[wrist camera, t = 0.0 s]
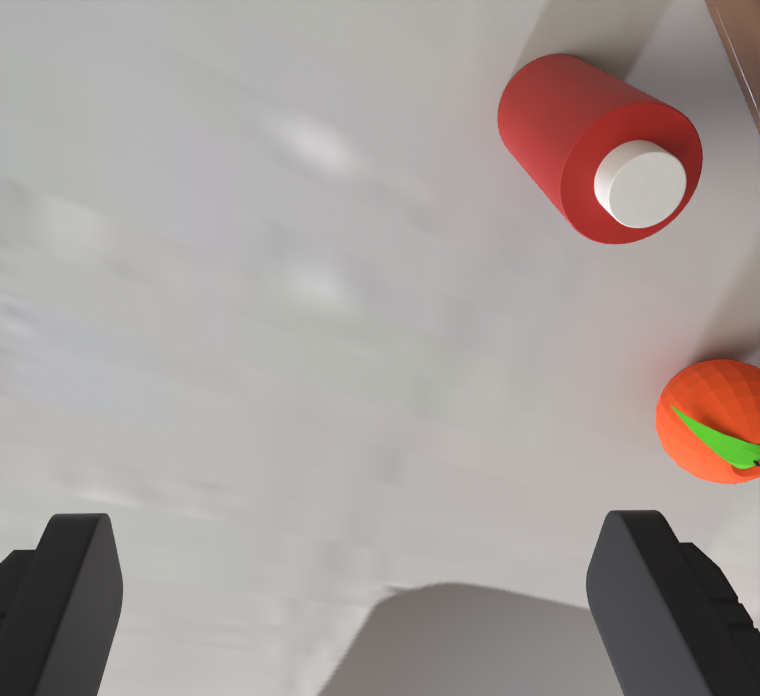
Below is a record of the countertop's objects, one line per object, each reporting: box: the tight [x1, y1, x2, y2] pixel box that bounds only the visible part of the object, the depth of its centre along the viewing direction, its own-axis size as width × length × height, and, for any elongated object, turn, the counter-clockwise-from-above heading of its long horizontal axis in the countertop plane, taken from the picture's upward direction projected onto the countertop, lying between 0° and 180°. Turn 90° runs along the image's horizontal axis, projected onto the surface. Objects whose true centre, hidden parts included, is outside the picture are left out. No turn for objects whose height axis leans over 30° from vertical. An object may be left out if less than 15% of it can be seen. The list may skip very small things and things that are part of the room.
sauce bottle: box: [498, 54, 703, 244], centre depth 27 cm, size 5×5×11 cm
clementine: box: [656, 359, 760, 484], centre depth 37 cm, size 8×7×7 cm
